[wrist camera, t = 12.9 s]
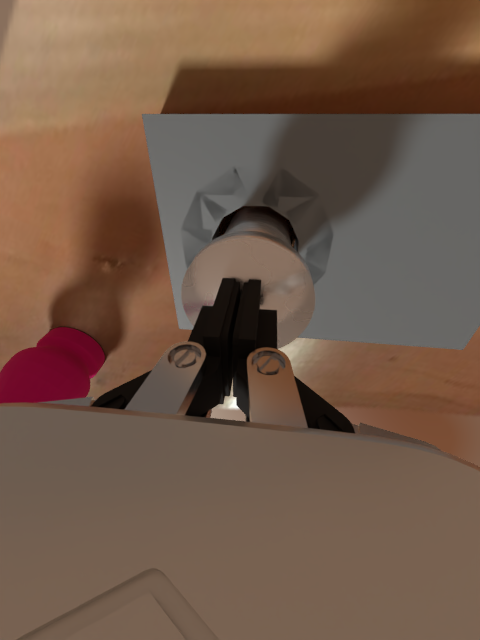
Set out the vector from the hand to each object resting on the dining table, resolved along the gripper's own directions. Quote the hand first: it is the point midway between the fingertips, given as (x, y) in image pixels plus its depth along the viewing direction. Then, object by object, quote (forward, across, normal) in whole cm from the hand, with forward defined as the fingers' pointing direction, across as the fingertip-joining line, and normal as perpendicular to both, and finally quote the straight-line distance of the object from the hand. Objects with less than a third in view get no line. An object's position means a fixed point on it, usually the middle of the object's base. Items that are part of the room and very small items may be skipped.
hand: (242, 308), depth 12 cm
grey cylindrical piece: (+9, 0, 0) cm, 9 cm away
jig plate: (+9, -5, 0) cm, 10 cm away
